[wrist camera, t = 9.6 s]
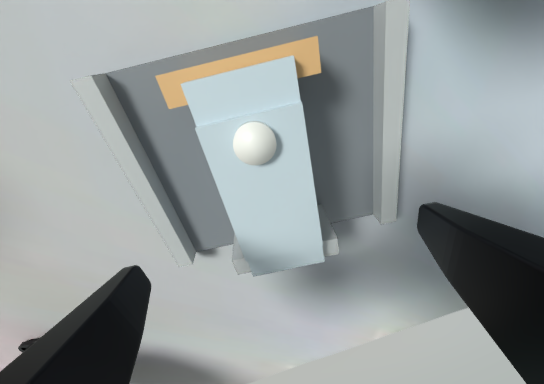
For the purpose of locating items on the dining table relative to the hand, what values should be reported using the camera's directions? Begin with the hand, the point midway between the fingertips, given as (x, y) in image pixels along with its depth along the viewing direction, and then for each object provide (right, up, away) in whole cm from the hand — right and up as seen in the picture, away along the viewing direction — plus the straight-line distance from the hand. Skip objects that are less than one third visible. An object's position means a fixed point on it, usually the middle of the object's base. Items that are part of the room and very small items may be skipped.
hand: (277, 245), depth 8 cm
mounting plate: (-1, +4, +7) cm, 9 cm away
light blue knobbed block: (-1, +4, +7) cm, 8 cm away
